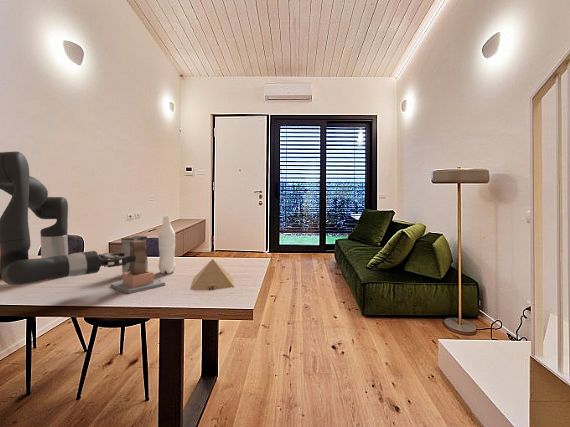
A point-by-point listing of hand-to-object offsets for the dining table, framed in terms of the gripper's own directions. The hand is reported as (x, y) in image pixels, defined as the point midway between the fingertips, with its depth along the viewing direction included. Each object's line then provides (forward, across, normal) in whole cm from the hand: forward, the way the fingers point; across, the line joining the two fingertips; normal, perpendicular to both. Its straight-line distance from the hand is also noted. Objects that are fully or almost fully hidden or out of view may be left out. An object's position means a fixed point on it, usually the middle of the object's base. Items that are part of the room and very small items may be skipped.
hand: (129, 256), depth 121 cm
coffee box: (+12, +20, +12) cm, 26 cm away
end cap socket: (+3, 0, +12) cm, 12 cm away
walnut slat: (+3, 0, +10) cm, 11 cm away
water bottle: (+22, +11, +12) cm, 27 cm away
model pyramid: (+24, -18, +12) cm, 32 cm away
